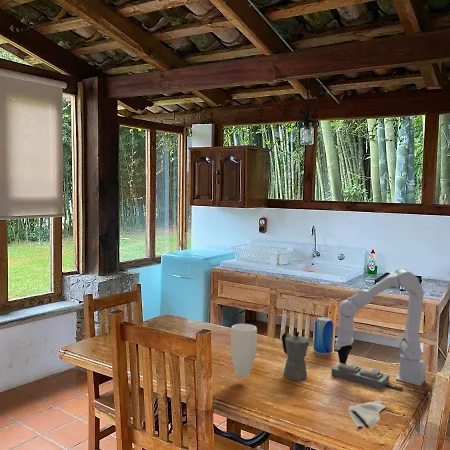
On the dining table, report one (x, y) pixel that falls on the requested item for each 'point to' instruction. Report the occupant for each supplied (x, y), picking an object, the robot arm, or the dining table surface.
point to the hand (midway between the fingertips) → (342, 363)
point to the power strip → (363, 377)
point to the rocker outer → (349, 366)
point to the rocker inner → (371, 371)
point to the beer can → (323, 336)
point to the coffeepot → (295, 356)
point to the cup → (243, 348)
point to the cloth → (366, 413)
